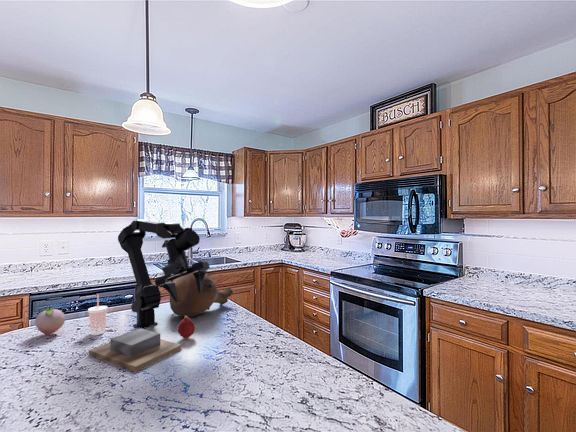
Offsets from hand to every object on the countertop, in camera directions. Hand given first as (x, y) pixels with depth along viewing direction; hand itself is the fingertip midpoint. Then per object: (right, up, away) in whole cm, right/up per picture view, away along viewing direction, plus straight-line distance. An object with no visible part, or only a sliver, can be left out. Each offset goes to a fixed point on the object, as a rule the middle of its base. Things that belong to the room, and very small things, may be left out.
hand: (188, 297), depth 105 cm
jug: (-4, -15, +29) cm, 33 cm away
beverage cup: (-35, -15, +5) cm, 38 cm away
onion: (-1, -15, 0) cm, 15 cm away
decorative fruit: (-51, -14, +3) cm, 53 cm away
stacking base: (-13, -14, -11) cm, 22 cm away
